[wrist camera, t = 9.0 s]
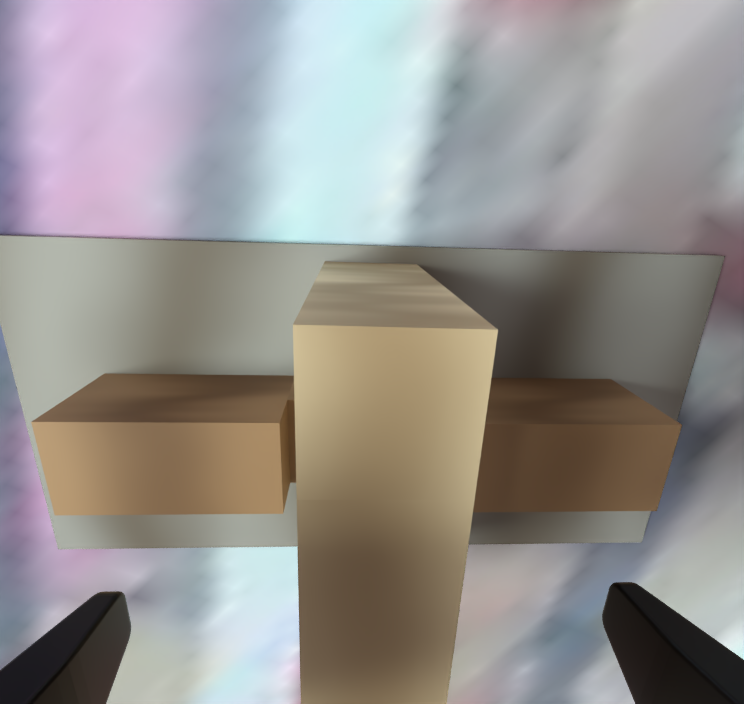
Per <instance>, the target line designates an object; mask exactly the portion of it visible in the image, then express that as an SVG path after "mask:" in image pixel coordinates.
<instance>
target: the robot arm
mask: <svg viewBox="0 0 744 704" xmlns="http://www.w3.org/2000/svg"><path fill="white" fill-rule="evenodd" d="M602 620H603V625H604V628H605V631H606V634H607V636H608V638H609V641H610V643H611V646H612V648H613V651H614V653H615V655H616V658H617V660H618V663H619V665H620V668H621V670H622V672H623V675H624V677H625V680H626V682H627V685H628V687H629V689H630V692H631V694H632V697H633V699H634V702H635V704H744V660H743V659H742V658H740V657H739V656H738V655H736V654H735V653H733V652H732V651H731V650H729V649H728V648H726V647H725V646H724V645H722V644H721V643H719V642H718V641H717V640H715V639H714V638H712V637H711V636H710V635H708V634H707V633H705V632H704V631H702V630H701V629H700V628H698V627H697V626H695V625H694V624H693V623H691V622H690V621H688V620H687V619H686V618H684V617H683V616H681V615H680V614H679V613H677V612H676V611H674V610H673V609H672V608H670V607H669V606H667V605H666V604H665V603H663V602H662V601H660V600H659V599H658V598H656V597H655V596H653V595H652V594H650V593H649V592H648V591H646V590H645V589H643V588H642V587H641V586H639V585H637V584H635V583H632V582H618V583H613V584H612V585H611V586H610V588H609V591H608V595H607V599H606V602H605V606H604V610H603V614H602ZM130 633H131V622H130V617H129V612H128V607H127V602H126V598H125V595H124V594H123V593H122V592H119V591H118V592H99V593H97V594H95V595H94V596H92V597H91V598H90V599H89V600H87V601H86V602H85V603H84V604H82V605H81V606H80V607H79V608H77V609H76V610H75V611H74V612H72V613H71V614H70V615H68V616H67V617H66V618H65V619H63V620H62V621H61V622H60V623H58V624H57V625H56V626H55V627H53V628H52V629H51V630H50V631H48V632H47V633H46V634H45V635H43V636H42V637H41V638H40V639H38V640H37V641H36V642H35V643H33V644H32V645H31V646H30V647H28V648H27V649H26V650H25V651H23V652H22V653H21V654H20V655H18V656H17V657H16V658H15V659H13V660H12V661H11V662H10V663H8V664H7V665H6V666H5V667H3V668H2V669H1V670H0V704H106V702H107V700H108V697H109V694H110V691H111V688H112V686H113V683H114V680H115V677H116V675H117V672H118V669H119V666H120V663H121V661H122V658H123V655H124V652H125V649H126V647H127V644H128V641H129V638H130Z"/></svg>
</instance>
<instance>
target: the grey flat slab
mask: <svg viewBox="0 0 744 704" xmlns="http://www.w3.org/2000/svg"><path fill="white" fill-rule="evenodd" d="M724 258H725V256H718V255H694V254H659V253H624V252H588V251H553V250H518V249H483V248H448V247H412V246H377V245H342V244H307V243H272V242H236V241H201V240H166V239H131V238H96V237H60V236H25V235H0V324H1V328H2V332H3V335H4V339H5V343H6V347H7V351H8V355H9V359H10V363H11V367H12V371H13V374H14V378H15V382H16V386H17V390H18V394H19V398H20V402H21V406H22V410H23V413H24V417H25V421H26V425H27V429H28V433H29V437H30V441H31V445H32V449H33V452H34V456H35V460H36V464H37V468H38V472H39V476H40V480H41V484H42V488H43V491H44V495H45V499H46V503H47V507H48V511H49V515H50V519H51V523H52V527H53V530H54V534H55V538H56V542H57V546H58V549H118V548H202V547H287V546H298V540H297V493H296V447H295V400H294V354H293V323H294V321H295V319H296V317H297V315H298V314H299V312H300V310H301V308H302V306H303V304H304V302H305V300H306V298H307V296H308V294H309V292H310V290H311V288H312V286H313V284H314V282H315V280H316V278H317V276H318V274H319V272H320V270H321V268H322V266H323V264H324V262H325V261H331V262H360V263H390V264H417V265H418V266H419V267H421V268H422V269H423V270H424V271H426V272H427V273H428V274H429V275H431V276H432V277H433V278H434V279H436V280H437V281H438V282H439V283H441V284H442V285H443V286H444V287H446V288H447V289H448V290H449V291H451V292H452V293H453V294H454V295H456V296H457V297H458V298H459V299H461V300H462V301H463V302H464V303H465V304H467V305H468V306H469V307H470V308H472V309H473V310H474V311H475V312H477V313H478V314H479V315H480V316H482V317H483V318H484V319H485V320H487V321H488V322H489V323H490V324H492V325H493V326H494V327H495V328H497V329H498V334H497V341H496V349H495V356H494V363H493V370H492V377H491V385H490V392H489V399H488V406H487V414H486V421H485V428H484V435H483V443H482V450H481V457H480V464H479V471H478V479H477V486H476V493H475V500H474V508H473V515H472V522H471V529H470V537H469V544H541V543H625V542H642V539H643V536H644V533H645V529H646V526H647V522H648V519H649V515H650V512H651V511H657V508H658V504H659V501H660V498H661V494H662V491H663V488H664V484H665V481H666V477H667V474H668V471H669V467H670V464H671V461H672V457H673V454H674V450H675V447H676V444H677V440H678V437H679V434H680V430H681V427H682V425H681V424H680V423H678V422H677V419H678V416H679V412H680V409H681V405H682V402H683V399H684V395H685V392H686V388H687V385H688V381H689V378H690V374H691V371H692V368H693V364H694V361H695V357H696V354H697V350H698V347H699V344H700V340H701V337H702V333H703V330H704V326H705V323H706V320H707V316H708V313H709V309H710V306H711V302H712V299H713V295H714V292H715V289H716V285H717V282H718V278H719V275H720V271H721V268H722V265H723V261H724Z"/></svg>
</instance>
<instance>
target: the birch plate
mask: <svg viewBox="0 0 744 704" xmlns="http://www.w3.org/2000/svg"><path fill="white" fill-rule="evenodd" d="M497 334H498V329H497V328H495V327H494V326H493V325H492V324H490V323H489V322H488V321H487V320H485V319H484V318H483V317H482V316H480V315H479V314H478V313H477V312H475V311H474V310H473V309H472V308H470V307H469V306H468V305H467V304H465V303H464V302H463V301H462V300H461V299H459V298H458V297H457V296H456V295H454V294H453V293H452V292H451V291H449V290H448V289H447V288H446V287H444V286H443V285H442V284H441V283H439V282H438V281H437V280H436V279H434V278H433V277H432V276H431V275H429V274H428V273H427V272H426V271H424V270H423V269H422V268H421V267H419V266H418V265H417V264H390V263H360V262H331V261H325V262H324V264H323V266H322V268H321V270H320V272H319V274H318V276H317V278H316V280H315V282H314V284H313V286H312V288H311V290H310V292H309V294H308V296H307V298H306V300H305V302H304V304H303V306H302V308H301V310H300V312H299V314H298V315H297V317H296V319H295V321H294V323H293V354H294V400H295V447H296V493H297V540H298V586H299V632H300V679H301V704H446V703H447V696H448V688H449V681H450V674H451V667H452V659H453V652H454V645H455V638H456V630H457V623H458V616H459V609H460V602H461V594H462V587H463V580H464V573H465V565H466V558H467V551H468V544H469V537H470V529H471V522H472V515H473V508H474V500H475V493H476V486H477V479H478V471H479V464H480V457H481V450H482V443H483V435H484V428H485V421H486V414H487V406H488V399H489V392H490V385H491V377H492V370H493V363H494V356H495V349H496V341H497Z"/></svg>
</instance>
